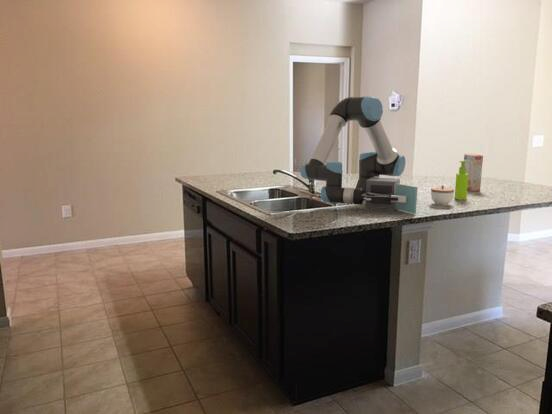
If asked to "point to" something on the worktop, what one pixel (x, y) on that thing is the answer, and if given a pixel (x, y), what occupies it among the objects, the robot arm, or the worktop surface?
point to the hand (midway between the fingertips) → (405, 199)
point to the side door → (410, 198)
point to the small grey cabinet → (381, 190)
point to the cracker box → (473, 171)
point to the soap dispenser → (461, 182)
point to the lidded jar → (442, 195)
